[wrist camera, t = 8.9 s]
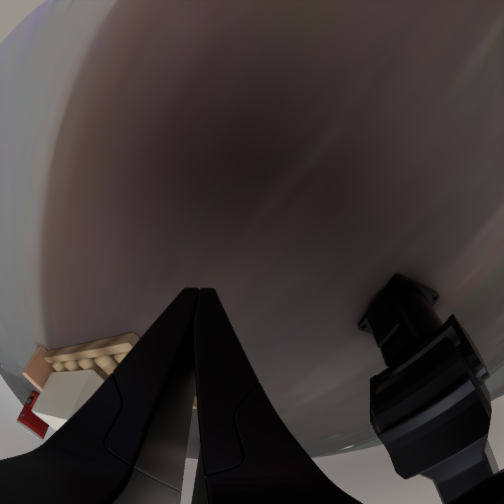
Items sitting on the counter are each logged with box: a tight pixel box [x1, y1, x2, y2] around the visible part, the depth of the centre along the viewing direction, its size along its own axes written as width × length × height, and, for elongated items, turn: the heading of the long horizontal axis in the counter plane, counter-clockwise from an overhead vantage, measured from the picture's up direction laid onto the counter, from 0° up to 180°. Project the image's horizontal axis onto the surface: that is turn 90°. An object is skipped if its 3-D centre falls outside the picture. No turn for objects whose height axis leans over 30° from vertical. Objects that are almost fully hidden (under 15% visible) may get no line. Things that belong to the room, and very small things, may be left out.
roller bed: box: [44, 332, 197, 409], centre depth 30 cm, size 21×14×2 cm, turn 114°
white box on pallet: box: [31, 369, 104, 431], centre depth 27 cm, size 12×9×8 cm
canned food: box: [17, 391, 49, 441], centre depth 40 cm, size 8×8×11 cm
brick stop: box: [22, 346, 57, 391], centre depth 32 cm, size 2×16×6 cm, turn 24°
